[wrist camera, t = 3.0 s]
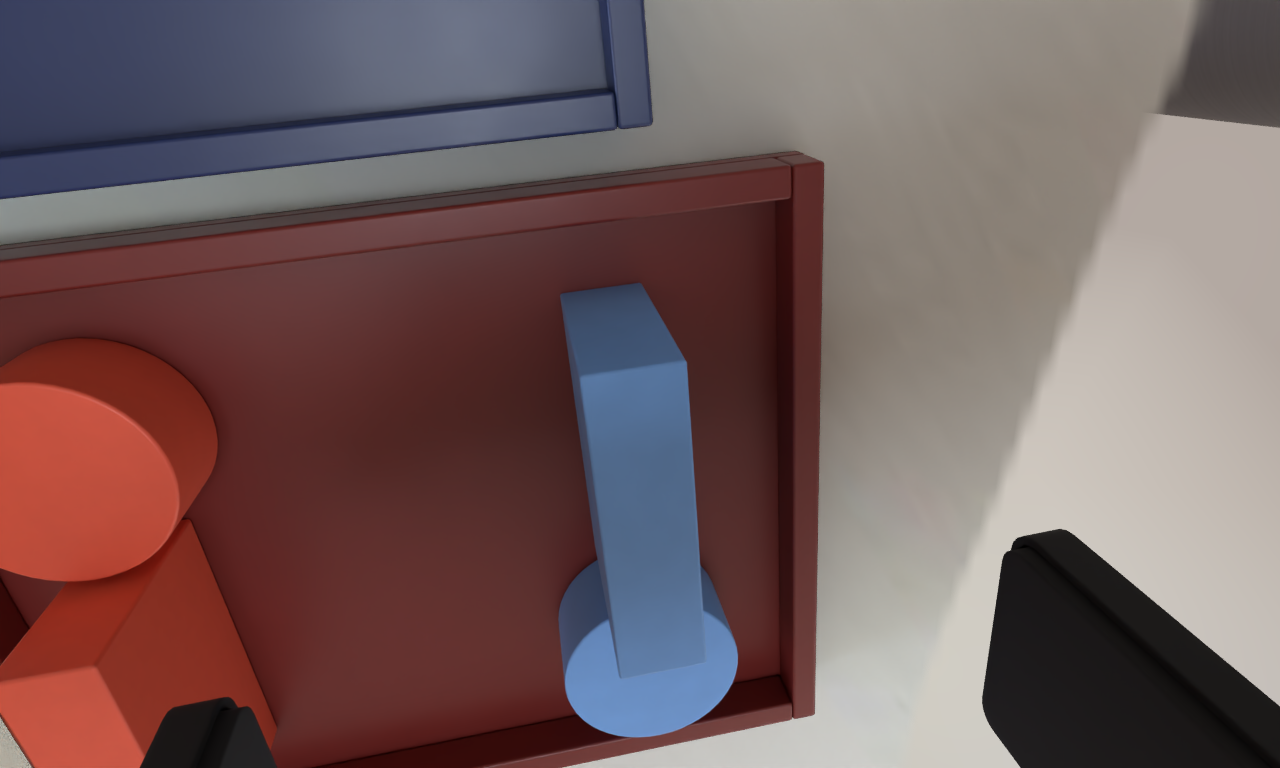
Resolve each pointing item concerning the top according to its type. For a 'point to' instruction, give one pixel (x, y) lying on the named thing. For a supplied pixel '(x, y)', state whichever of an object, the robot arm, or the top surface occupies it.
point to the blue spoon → (638, 529)
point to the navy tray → (299, 82)
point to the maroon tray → (463, 440)
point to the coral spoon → (110, 555)
